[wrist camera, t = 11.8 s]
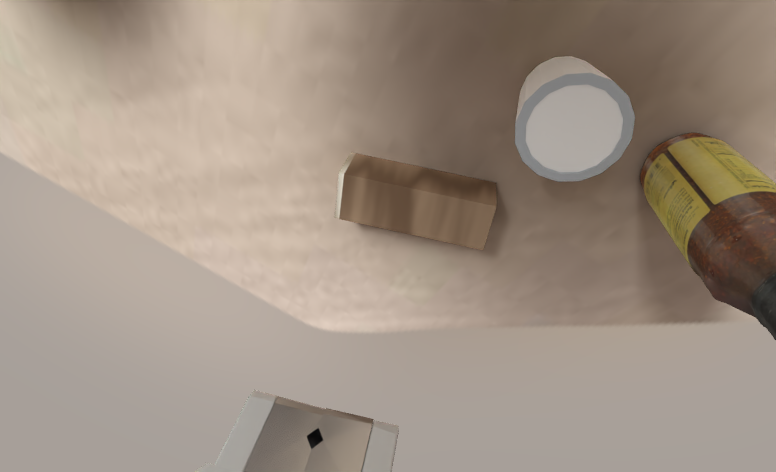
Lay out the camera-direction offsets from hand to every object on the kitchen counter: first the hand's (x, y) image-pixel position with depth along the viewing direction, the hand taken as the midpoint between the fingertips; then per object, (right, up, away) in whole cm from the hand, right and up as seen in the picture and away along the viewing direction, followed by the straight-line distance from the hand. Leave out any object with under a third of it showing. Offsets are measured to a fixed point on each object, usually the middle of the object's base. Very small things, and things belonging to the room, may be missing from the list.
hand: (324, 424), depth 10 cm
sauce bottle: (+23, +9, +27) cm, 37 cm away
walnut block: (-2, +8, +30) cm, 31 cm away
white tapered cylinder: (+14, +14, +26) cm, 32 cm away
